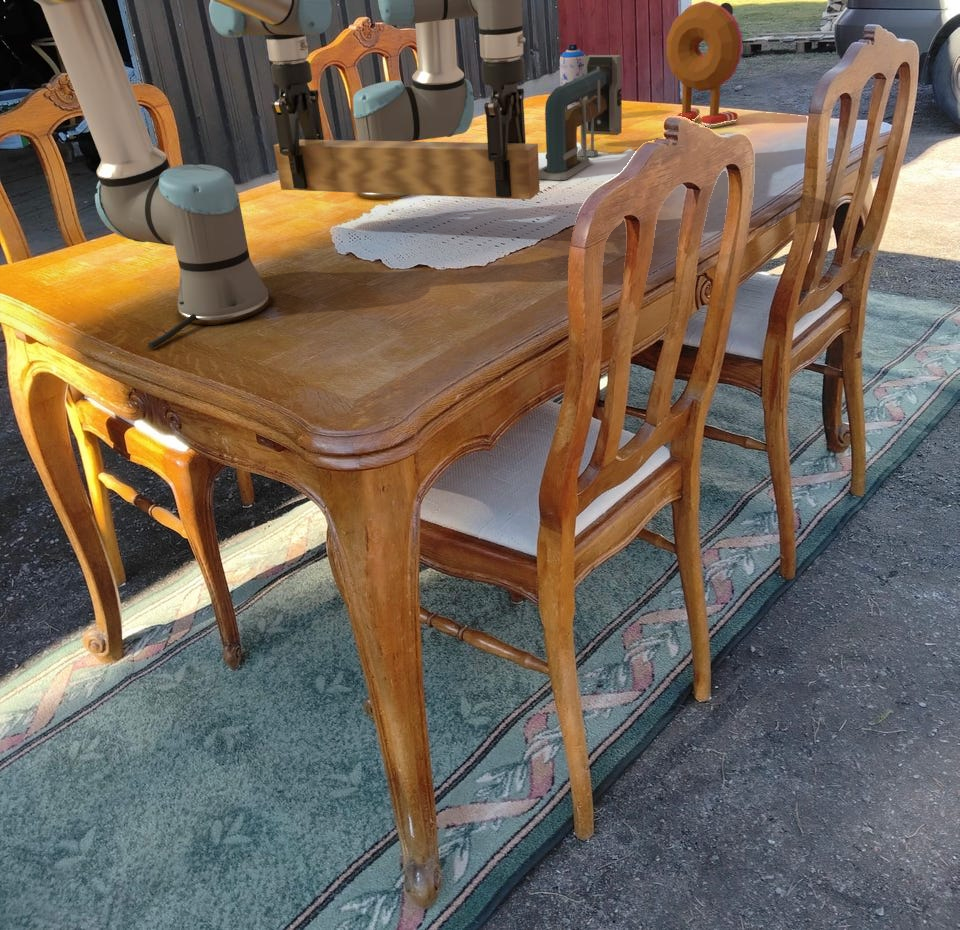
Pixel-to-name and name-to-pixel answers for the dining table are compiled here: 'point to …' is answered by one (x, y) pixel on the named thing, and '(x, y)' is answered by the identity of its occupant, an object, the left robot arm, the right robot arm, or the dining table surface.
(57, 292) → the dining table surface
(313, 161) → the beam
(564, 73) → the aerosol can
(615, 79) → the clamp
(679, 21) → the toy
